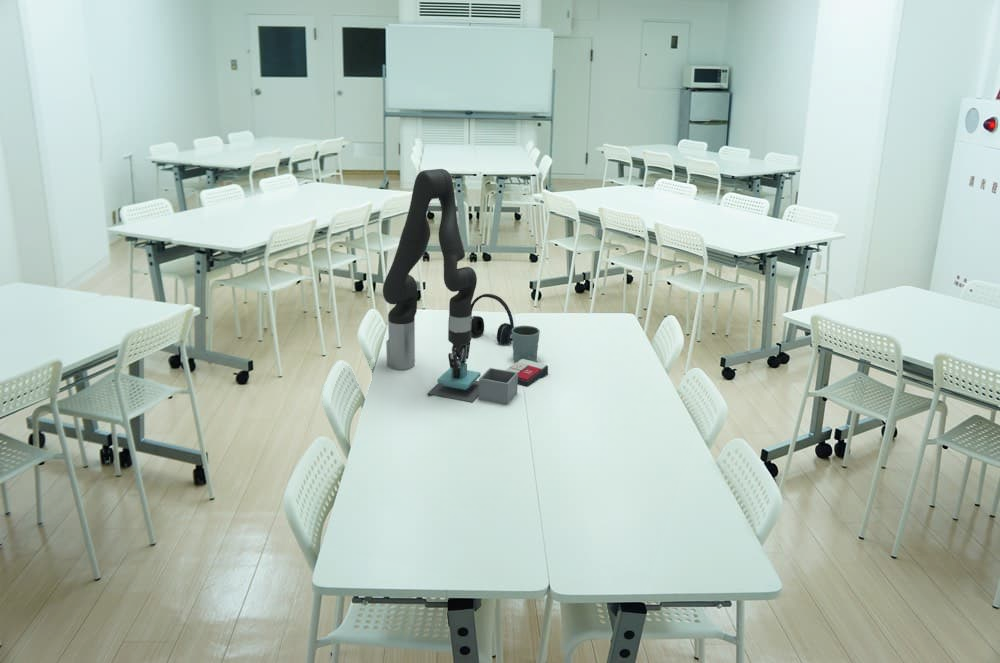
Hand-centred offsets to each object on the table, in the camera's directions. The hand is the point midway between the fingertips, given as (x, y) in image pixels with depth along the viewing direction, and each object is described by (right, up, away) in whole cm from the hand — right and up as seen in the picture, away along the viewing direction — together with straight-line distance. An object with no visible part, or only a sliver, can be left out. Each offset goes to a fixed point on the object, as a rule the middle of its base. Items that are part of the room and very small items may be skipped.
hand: (459, 375), depth 283 cm
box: (+13, -7, -2) cm, 15 cm away
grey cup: (+23, +4, +29) cm, 37 cm away
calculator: (+22, -2, +14) cm, 27 cm away
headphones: (+10, +11, +48) cm, 50 cm away
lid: (0, -3, +1) cm, 3 cm away
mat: (0, -5, +2) cm, 6 cm away
